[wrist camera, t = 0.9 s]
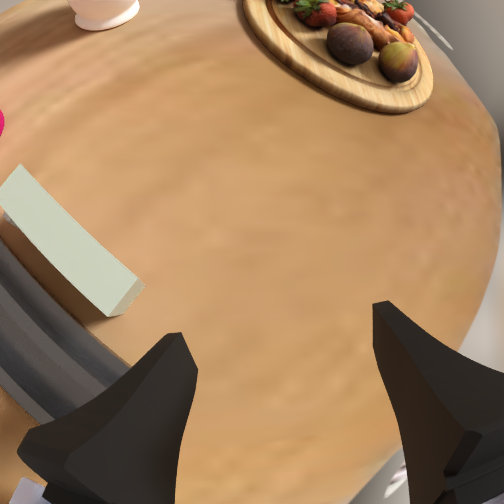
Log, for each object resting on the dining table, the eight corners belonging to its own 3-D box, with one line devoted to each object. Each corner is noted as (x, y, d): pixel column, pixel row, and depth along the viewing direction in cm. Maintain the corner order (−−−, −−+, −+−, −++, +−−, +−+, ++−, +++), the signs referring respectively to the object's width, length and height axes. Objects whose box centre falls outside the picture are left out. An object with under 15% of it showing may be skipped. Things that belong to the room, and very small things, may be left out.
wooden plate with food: (364, -9, 43) (382, -34, 35) (454, 114, 40) (486, 91, 33) (213, -23, 34) (223, -62, 26) (300, 128, 31) (335, 82, 23)
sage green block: (145, 285, 24) (138, 277, 18) (119, 319, 23) (103, 323, 16) (50, 196, 23) (20, 163, 16) (25, 226, 22) (-11, 201, 15)
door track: (140, 373, 23) (137, 383, 20) (81, 452, 20) (73, 468, 17) (-13, 220, 21) (-30, 210, 17) (-60, 300, 18) (-79, 298, 15)
